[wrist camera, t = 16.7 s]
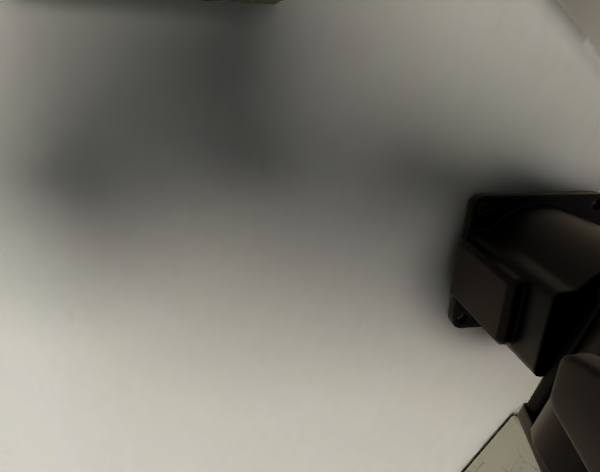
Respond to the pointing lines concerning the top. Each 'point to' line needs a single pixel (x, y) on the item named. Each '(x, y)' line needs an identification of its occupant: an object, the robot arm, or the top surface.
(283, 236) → the top surface
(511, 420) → the small box
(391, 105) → the top surface
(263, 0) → the green open square container
